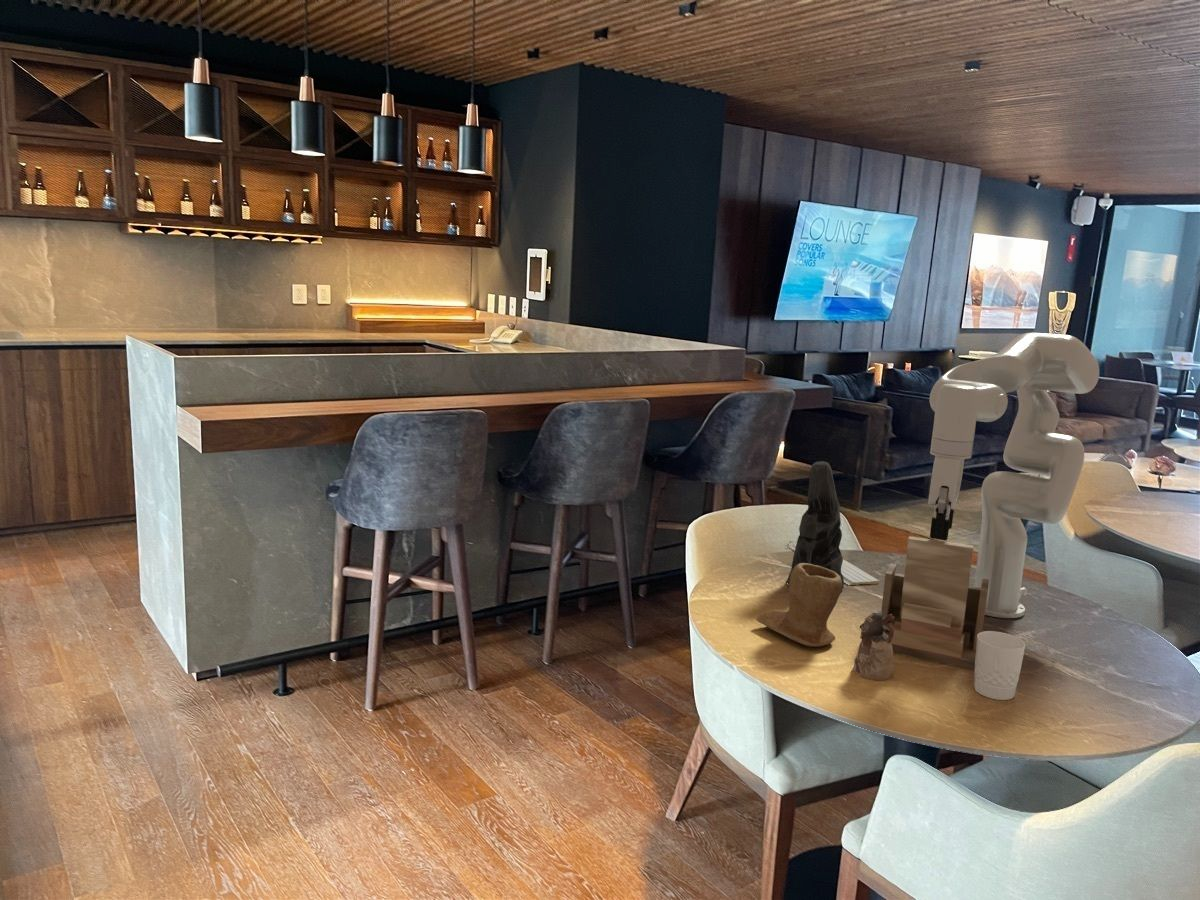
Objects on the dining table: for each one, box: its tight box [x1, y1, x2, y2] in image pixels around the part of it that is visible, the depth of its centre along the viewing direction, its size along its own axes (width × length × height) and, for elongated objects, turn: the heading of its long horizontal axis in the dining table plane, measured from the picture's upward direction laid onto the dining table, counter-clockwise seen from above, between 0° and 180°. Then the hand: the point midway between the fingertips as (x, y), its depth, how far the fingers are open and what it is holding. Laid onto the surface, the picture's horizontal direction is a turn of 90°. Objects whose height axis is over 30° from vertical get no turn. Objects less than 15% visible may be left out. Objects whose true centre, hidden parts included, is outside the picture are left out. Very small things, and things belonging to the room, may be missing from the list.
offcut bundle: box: [891, 603, 965, 658], centre depth 172 cm, size 5×13×8 cm, turn 64°
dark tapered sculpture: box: [786, 460, 845, 592], centre depth 208 cm, size 14×14×30 cm
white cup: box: [973, 630, 1026, 701], centre depth 157 cm, size 8×8×10 cm
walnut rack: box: [880, 563, 989, 671], centre depth 175 cm, size 14×19×14 cm
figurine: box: [852, 610, 895, 681], centre depth 163 cm, size 7×7×12 cm
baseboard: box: [785, 541, 880, 586], centre depth 226 cm, size 30×3×10 cm
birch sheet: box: [900, 535, 974, 631], centre depth 176 cm, size 2×12×20 cm, turn 64°
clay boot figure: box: [756, 563, 843, 648], centre depth 179 cm, size 15×12×15 cm
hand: (940, 533), depth 173 cm, fingers open, 9 cm apart
